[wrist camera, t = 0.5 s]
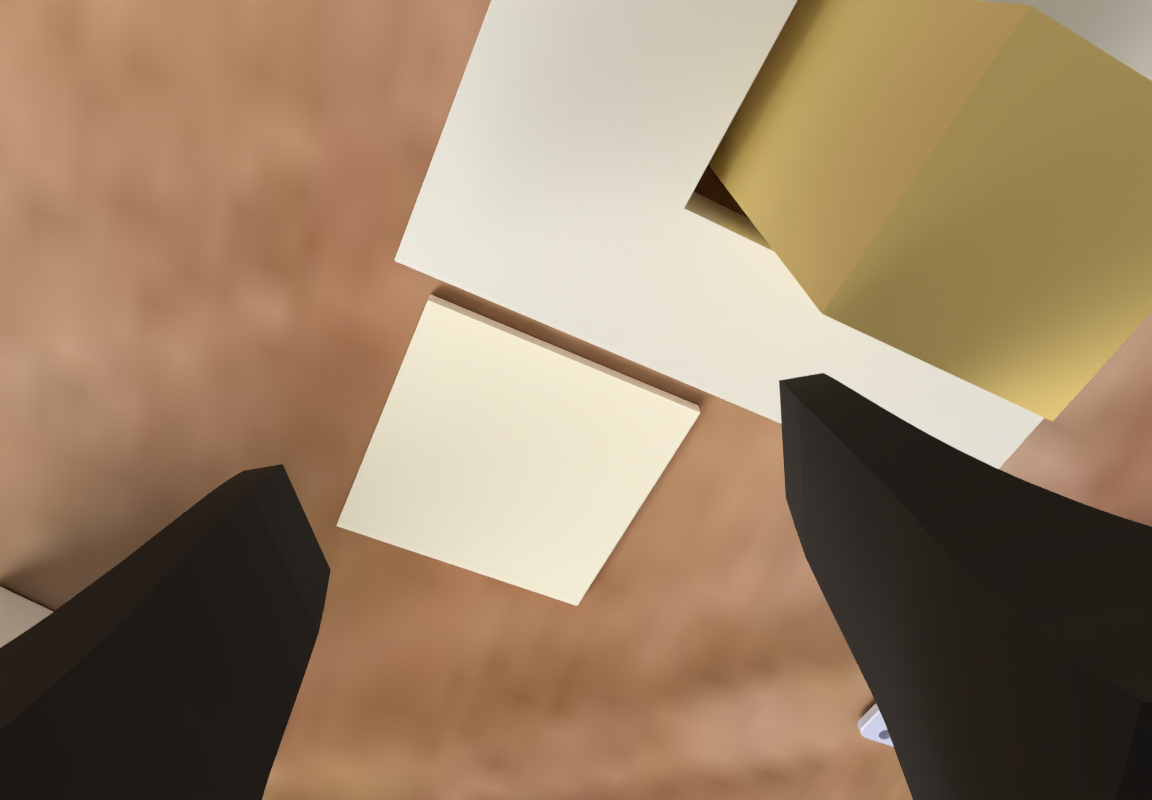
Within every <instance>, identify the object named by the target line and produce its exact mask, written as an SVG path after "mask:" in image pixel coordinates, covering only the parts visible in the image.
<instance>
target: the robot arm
mask: <svg viewBox="0 0 1152 800" xmlns="http://www.w3.org/2000/svg"><path fill="white" fill-rule="evenodd" d="M779 388H780V405H781V421H782V438H783V455H784V472H785V489H786V499H787V502H788V505H789V509H790V512H791V515H792V518H793V521H794V524H795V527H796V530H797V533H798V536H799V539H800V542H801V545H802V548H803V551H804V554H805V556H806V559H807V561H808V563H809V565H810V567H811V569H812V572H813V574H814V576H815V578H816V580H817V582H818V584H819V586H820V588H821V590H822V592H823V594H824V596H825V598H826V601H827V603H828V605H829V607H830V609H831V611H832V613H833V615H834V617H835V619H836V621H837V623H838V625H839V627H840V629H841V631H842V633H843V635H844V637H845V639H846V641H847V643H848V645H849V647H850V649H851V652H852V654H853V656H854V658H855V660H856V662H857V664H858V666H859V668H860V670H861V672H862V674H863V676H864V678H865V680H866V682H867V684H868V686H869V688H870V690H871V692H872V695H873V697H874V699H875V702H876V703H875V704H874V705H873V706H872V707H871V708H870V709H869V711H868V712H867V713H866V714H865V715H864V716H863V717H862V718H861V719H860V720H859V722H858V728H859V730H860V733H861V734H862V736H863V737H865V738H868V739H871V740H874V741H877V742H880V743H883V744H887V745H890V746H893V747H894V749H895V751H896V754H897V757H898V760H899V762H900V765H901V768H902V770H903V773H904V776H905V779H906V781H907V784H908V787H909V789H910V792H911V795H912V798H913V800H1152V527H1150V526H1147V525H1144V524H1141V523H1137V522H1134V521H1131V520H1128V519H1125V518H1122V517H1119V516H1116V515H1113V514H1110V513H1107V512H1104V511H1101V510H1098V509H1096V508H1093V507H1090V506H1087V505H1084V504H1082V503H1079V502H1077V501H1074V500H1071V499H1069V498H1066V497H1064V496H1061V495H1059V494H1056V493H1054V492H1051V491H1049V490H1046V489H1044V488H1041V487H1039V486H1036V485H1034V484H1031V483H1029V482H1026V481H1024V480H1022V479H1019V478H1017V477H1015V476H1012V475H1010V474H1008V473H1006V472H1003V471H1001V470H999V469H997V468H995V467H993V466H991V465H989V464H987V463H984V462H982V461H980V460H978V459H976V458H974V457H972V456H970V455H968V454H966V453H964V452H962V451H960V450H958V449H956V448H954V447H952V446H950V445H948V444H946V443H944V442H942V441H941V440H939V439H937V438H935V437H933V436H931V435H929V434H927V433H926V432H924V431H922V430H920V429H918V428H917V427H915V426H913V425H911V424H910V423H908V422H906V421H904V420H903V419H901V418H899V417H897V416H896V415H894V414H892V413H891V412H889V411H887V410H885V409H884V408H882V407H880V406H879V405H877V404H875V403H874V402H872V401H870V400H869V399H867V398H865V397H864V396H862V395H861V394H859V393H857V392H856V391H854V390H852V389H851V388H849V387H847V386H846V385H844V384H842V383H841V382H839V381H837V380H835V379H834V378H832V377H830V376H828V375H826V374H824V373H820V374H814V375H808V376H802V377H797V378H791V379H785V380H779ZM329 575H330V568H329V566H328V564H327V561H326V559H325V557H324V555H323V553H322V550H321V548H320V546H319V544H318V541H317V539H316V537H315V535H314V533H313V530H312V528H311V526H310V524H309V522H308V519H307V517H306V515H305V513H304V510H303V508H302V506H301V504H300V502H299V499H298V497H297V495H296V493H295V491H294V488H293V486H292V484H291V482H290V479H289V477H288V475H287V473H286V471H285V468H284V466H283V464H282V465H276V466H270V467H264V468H258V469H252V470H246V471H242V472H241V473H239V474H237V475H236V476H234V477H232V478H231V479H229V480H228V481H226V482H225V483H223V484H222V485H220V486H219V487H218V488H216V489H215V490H213V491H212V492H211V493H209V494H208V495H207V496H205V497H204V498H203V499H201V500H200V501H199V502H198V503H196V504H195V505H194V506H192V507H191V508H190V509H188V510H187V511H186V512H185V513H183V514H182V515H181V516H179V517H178V518H177V519H176V520H174V521H173V522H172V523H171V524H169V525H168V526H167V527H165V528H164V529H163V530H162V531H160V532H159V533H158V534H157V535H155V536H154V537H153V538H151V539H150V540H149V541H148V542H146V543H145V544H144V545H142V546H141V547H140V548H139V549H137V550H136V551H135V552H134V553H132V554H131V555H130V556H128V557H127V558H126V559H125V560H123V561H122V562H121V563H119V564H118V565H117V566H115V567H114V568H113V569H111V570H110V571H108V572H107V573H106V574H104V575H103V576H102V577H100V578H99V579H98V580H96V581H95V582H94V583H92V584H91V585H89V586H88V587H87V588H85V589H84V590H83V591H81V592H80V593H79V594H77V595H76V596H75V597H73V598H72V599H70V600H69V601H68V602H66V603H65V604H64V605H62V606H61V607H60V608H58V609H57V610H56V611H54V612H53V613H51V614H50V615H48V616H47V617H46V618H44V619H43V620H41V621H40V622H38V623H37V624H36V625H34V626H33V627H31V628H30V629H28V630H27V631H25V632H24V633H22V634H21V635H19V636H18V637H16V638H15V639H13V640H12V641H10V642H8V643H7V644H5V645H4V646H2V647H1V648H0V800H262V797H263V794H264V790H265V787H266V784H267V780H268V777H269V774H270V771H271V768H272V766H273V763H274V760H275V757H276V754H277V751H278V748H279V746H280V743H281V740H282V737H283V734H284V731H285V729H286V726H287V723H288V720H289V717H290V714H291V712H292V709H293V706H294V703H295V700H296V697H297V695H298V692H299V689H300V686H301V683H302V680H303V677H304V674H305V671H306V668H307V666H308V663H309V660H310V657H311V654H312V651H313V648H314V645H315V642H316V639H317V635H318V632H319V628H320V623H321V619H322V614H323V609H324V604H325V599H326V593H327V587H328V581H329Z"/></svg>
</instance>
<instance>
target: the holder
mask: <svg viewBox="0 0 1152 800" xmlns="http://www.w3.org/2000/svg"><path fill="white" fill-rule="evenodd" d="M977 1H988V2H999V3H1010V4H1021V5H1031V6H1033V7H1034V8H1036V9H1037V10H1039V11H1041V12H1042V13H1044V14H1045V15H1047V16H1049V17H1050V18H1052V19H1053V20H1055V21H1057V22H1058V23H1060V24H1061V25H1063V26H1065V27H1066V28H1068V29H1069V30H1071V31H1073V32H1074V33H1076V34H1077V35H1079V36H1081V37H1082V38H1084V39H1085V40H1087V41H1088V42H1090V43H1092V44H1093V45H1095V46H1096V47H1098V48H1100V49H1101V50H1103V51H1104V52H1106V53H1108V54H1109V55H1111V56H1112V57H1114V58H1116V59H1117V60H1119V61H1120V62H1122V63H1124V64H1125V65H1127V66H1128V67H1130V68H1132V69H1133V70H1135V71H1136V72H1138V73H1140V74H1141V75H1143V76H1144V77H1146V78H1148V79H1149V80H1151V81H1152V0H977ZM796 2H797V0H491V3H490V6H489V8H488V11H487V14H486V17H485V19H484V22H483V25H482V27H481V30H480V33H479V35H478V38H477V41H476V43H475V46H474V49H473V51H472V54H471V57H470V59H469V62H468V65H467V67H466V70H465V73H464V75H463V78H462V81H461V84H460V86H459V89H458V92H457V94H456V97H455V100H454V102H453V105H452V108H451V110H450V113H449V116H448V118H447V121H446V124H445V126H444V129H443V132H442V134H441V137H440V140H439V143H438V145H437V148H436V151H435V153H434V156H433V159H432V161H431V164H430V167H429V169H428V172H427V175H426V177H425V180H424V183H423V185H422V188H421V191H420V193H419V196H418V199H417V201H416V204H415V207H414V210H413V212H412V215H411V218H410V220H409V223H408V226H407V228H406V231H405V234H404V236H403V239H402V242H401V244H400V247H399V250H398V252H397V255H396V258H395V260H394V261H396V262H399V263H401V264H403V265H406V266H408V267H411V268H413V269H415V270H418V271H420V272H422V273H425V274H427V275H430V276H432V277H434V278H437V279H439V280H441V281H444V282H446V283H449V284H451V285H453V286H456V287H458V288H460V289H463V290H465V291H468V292H470V293H472V294H475V295H477V296H479V297H482V298H484V299H487V300H489V301H491V302H494V303H496V304H498V305H501V306H503V307H506V308H508V309H510V310H513V311H515V312H517V313H520V314H522V315H525V316H527V317H529V318H532V319H534V320H536V321H539V322H541V323H543V324H546V325H548V326H551V327H553V328H555V329H558V330H560V331H562V332H565V333H567V334H570V335H572V336H574V337H577V338H579V339H581V340H584V341H586V342H589V343H591V344H593V345H596V346H598V347H600V348H603V349H605V350H608V351H610V352H612V353H615V354H617V355H619V356H622V357H624V358H627V359H629V360H631V361H634V362H636V363H638V364H641V365H643V366H646V367H648V368H650V369H653V370H655V371H657V372H660V373H662V374H665V375H667V376H669V377H672V378H674V379H676V380H679V381H681V382H684V383H686V384H688V385H691V386H693V387H695V388H698V389H700V390H703V391H705V392H707V393H710V394H712V395H714V396H717V397H719V398H722V399H724V400H726V401H729V402H731V403H733V404H736V405H738V406H741V407H743V408H745V409H748V410H750V411H752V412H755V413H757V414H760V415H762V416H764V417H767V418H769V419H771V420H774V421H776V422H778V423H781V424H782V421H781V405H780V388H779V380H785V379H791V378H797V377H802V376H808V375H814V374H820V373H824V374H826V375H828V376H830V377H832V378H834V379H835V380H837V381H839V382H841V383H842V384H844V385H846V386H847V387H849V388H851V389H852V390H854V391H856V392H857V393H859V394H861V395H862V396H864V397H865V398H867V399H869V400H870V401H872V402H874V403H875V404H877V405H879V406H880V407H882V408H884V409H885V410H887V411H889V412H891V413H892V414H894V415H896V416H897V417H899V418H901V419H903V420H904V421H906V422H908V423H910V424H911V425H913V426H915V427H917V428H918V429H920V430H922V431H924V432H926V433H927V434H929V435H931V436H933V437H935V438H937V439H939V440H941V441H942V442H944V443H946V444H948V445H950V446H952V447H954V448H956V449H958V450H960V451H962V452H964V453H966V454H968V455H970V456H972V457H974V458H976V459H978V460H980V461H982V462H984V463H987V464H989V465H991V466H993V467H995V468H997V469H999V468H1000V467H1001V466H1002V465H1003V463H1004V462H1005V461H1006V460H1007V459H1008V458H1009V457H1010V456H1011V454H1012V453H1013V452H1014V451H1015V450H1016V449H1017V448H1018V447H1019V445H1020V444H1021V443H1022V442H1023V441H1024V440H1025V439H1026V438H1027V436H1028V435H1029V434H1030V433H1031V432H1032V431H1033V430H1034V429H1035V428H1036V426H1037V425H1038V424H1039V423H1040V422H1041V421H1042V420H1043V419H1044V417H1042V416H1040V415H1037V414H1035V413H1033V412H1031V411H1029V410H1027V409H1025V408H1022V407H1020V406H1018V405H1016V404H1014V403H1012V402H1010V401H1007V400H1005V399H1003V398H1001V397H999V396H997V395H995V394H992V393H990V392H988V391H986V390H984V389H982V388H980V387H977V386H975V385H973V384H971V383H969V382H967V381H965V380H962V379H960V378H958V377H956V376H954V375H952V374H950V373H948V372H945V371H943V370H941V369H939V368H937V367H935V366H933V365H930V364H928V363H926V362H924V361H922V360H920V359H918V358H915V357H913V356H911V355H909V354H907V353H905V352H903V351H900V350H898V349H896V348H894V347H892V346H890V345H888V344H885V343H883V342H881V341H879V340H877V339H875V338H873V337H870V336H868V335H866V334H864V333H862V332H860V331H858V330H855V329H853V328H851V327H849V326H847V325H845V324H843V323H840V322H838V321H836V320H834V319H832V318H830V317H828V316H825V315H823V314H822V313H821V312H820V311H819V309H818V308H817V307H816V305H815V304H814V303H813V302H812V300H811V299H810V298H809V296H808V295H807V294H806V292H805V291H804V290H803V288H802V287H801V286H800V284H799V283H798V282H797V281H796V279H795V278H794V277H793V275H792V274H791V273H790V271H789V270H788V269H787V267H786V266H785V265H784V263H783V262H782V261H781V260H780V258H779V257H778V256H777V254H776V253H775V252H774V250H773V249H772V248H771V246H770V245H769V244H768V242H767V241H766V240H765V239H764V237H763V236H762V235H761V233H760V232H759V231H758V229H757V228H756V227H755V225H754V224H753V223H752V221H751V220H750V219H749V218H747V217H745V216H743V215H741V214H739V213H737V212H735V211H733V210H730V209H728V208H726V207H724V206H722V205H720V204H718V203H716V202H714V201H712V200H710V199H708V198H706V197H704V196H702V195H700V194H698V193H696V192H694V189H695V187H696V186H697V184H698V182H699V180H700V178H701V176H702V175H703V173H704V171H705V169H706V167H707V165H708V164H709V162H710V160H711V158H712V156H713V154H714V153H715V151H716V149H717V147H718V145H719V143H720V142H721V140H722V138H723V136H724V134H725V132H726V131H727V129H728V127H729V125H730V123H731V121H732V119H733V118H734V116H735V114H736V112H737V110H738V108H739V107H740V105H741V103H742V101H743V99H744V97H745V96H746V94H747V92H748V90H749V88H750V86H751V85H752V83H753V81H754V79H755V77H756V75H757V74H758V72H759V70H760V68H761V66H762V64H763V63H764V61H765V59H766V57H767V55H768V53H769V52H770V50H771V48H772V46H773V44H774V42H775V41H776V39H777V37H778V35H779V33H780V31H781V30H782V28H783V26H784V24H785V22H786V20H787V19H788V17H789V15H790V13H791V11H792V9H793V8H794V6H795V4H796Z"/></svg>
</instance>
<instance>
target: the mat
mask: <svg viewBox="0 0 1152 800" xmlns="http://www.w3.org/2000/svg"><path fill="white" fill-rule="evenodd" d="M699 414H700V410H699V407H698V405H696V404H693V403H691V402H689V401H686V400H684V399H681V398H679V397H677V396H674V395H672V394H669V393H667V392H665V391H662V390H660V389H657V388H655V387H653V386H650V385H648V384H645V383H643V382H641V381H638V380H636V379H633V378H631V377H628V376H626V375H624V374H621V373H619V372H616V371H614V370H612V369H609V368H607V367H604V366H602V365H600V364H597V363H595V362H592V361H590V360H588V359H585V358H583V357H580V356H578V355H576V354H573V353H571V352H568V351H566V350H563V349H561V348H559V347H556V346H554V345H551V344H549V343H547V342H544V341H542V340H539V339H537V338H535V337H532V336H530V335H527V334H525V333H523V332H520V331H518V330H515V329H513V328H511V327H508V326H506V325H503V324H501V323H499V322H496V321H494V320H491V319H489V318H486V317H484V316H482V315H479V314H477V313H474V312H472V311H470V310H467V309H465V308H462V307H460V306H458V305H455V304H453V303H450V302H448V301H446V300H443V299H441V298H438V297H436V296H434V295H431V294H430V296H429V298H428V301H427V303H426V306H425V308H424V311H423V313H422V316H421V318H420V321H419V323H418V325H417V328H416V330H415V333H414V335H413V338H412V340H411V343H410V345H409V348H408V350H407V353H406V355H405V358H404V360H403V362H402V365H401V367H400V370H399V372H398V375H397V377H396V380H395V382H394V385H393V387H392V390H391V392H390V395H389V397H388V399H387V402H386V404H385V407H384V409H383V412H382V414H381V417H380V419H379V422H378V424H377V427H376V429H375V432H374V434H373V436H372V439H371V441H370V444H369V446H368V449H367V451H366V454H365V456H364V459H363V461H362V464H361V466H360V468H359V471H358V473H357V476H356V478H355V481H354V483H353V486H352V488H351V491H350V493H349V496H348V498H347V501H346V503H345V505H344V508H343V510H342V513H341V515H340V518H339V520H338V523H337V526H338V527H341V528H344V529H347V530H350V531H353V532H356V533H359V534H362V535H365V536H368V537H371V538H374V539H377V540H380V541H383V542H386V543H389V544H392V545H395V546H398V547H401V548H404V549H407V550H410V551H413V552H416V553H419V554H422V555H425V556H428V557H431V558H434V559H437V560H440V561H443V562H446V563H449V564H452V565H455V566H458V567H461V568H464V569H467V570H470V571H473V572H476V573H479V574H482V575H485V576H488V577H492V578H495V579H498V580H501V581H504V582H507V583H510V584H513V585H516V586H519V587H522V588H525V589H528V590H531V591H534V592H537V593H540V594H543V595H546V596H549V597H552V598H555V599H558V600H561V601H564V602H567V603H570V604H573V605H576V606H577V605H578V604H579V602H580V601H581V599H582V598H583V596H584V594H585V593H586V591H587V590H588V588H589V587H590V585H591V583H592V582H593V580H594V579H595V577H596V576H597V574H598V572H599V571H600V569H601V568H602V566H603V565H604V563H605V562H606V560H607V558H608V557H609V555H610V554H611V552H612V551H613V549H614V547H615V546H616V544H617V543H618V541H619V540H620V538H621V536H622V535H623V533H624V532H625V530H626V529H627V527H628V525H629V524H630V522H631V521H632V519H633V518H634V516H635V514H636V513H637V511H638V510H639V508H640V507H641V505H642V504H643V502H644V500H645V499H646V497H647V496H648V494H649V493H650V491H651V489H652V488H653V486H654V485H655V483H656V482H657V480H658V478H659V477H660V475H661V474H662V472H663V471H664V469H665V467H666V466H667V464H668V463H669V461H670V460H671V458H672V456H673V455H674V453H675V452H676V450H677V449H678V447H679V446H680V444H681V442H682V441H683V439H684V438H685V436H686V435H687V433H688V431H689V430H690V428H691V427H692V425H693V424H694V422H695V420H696V419H697V417H698V416H699Z"/></svg>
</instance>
